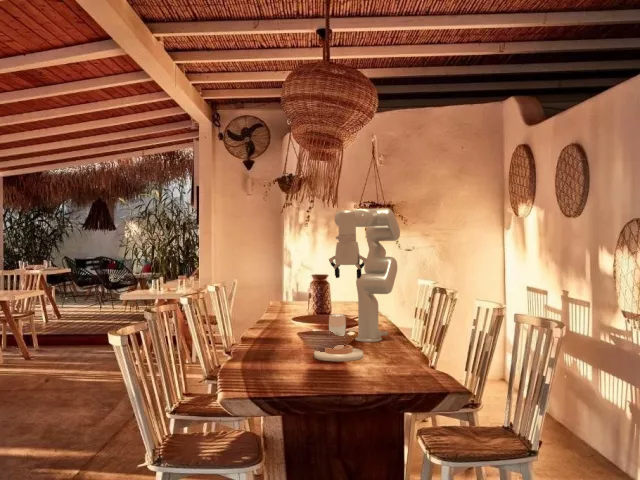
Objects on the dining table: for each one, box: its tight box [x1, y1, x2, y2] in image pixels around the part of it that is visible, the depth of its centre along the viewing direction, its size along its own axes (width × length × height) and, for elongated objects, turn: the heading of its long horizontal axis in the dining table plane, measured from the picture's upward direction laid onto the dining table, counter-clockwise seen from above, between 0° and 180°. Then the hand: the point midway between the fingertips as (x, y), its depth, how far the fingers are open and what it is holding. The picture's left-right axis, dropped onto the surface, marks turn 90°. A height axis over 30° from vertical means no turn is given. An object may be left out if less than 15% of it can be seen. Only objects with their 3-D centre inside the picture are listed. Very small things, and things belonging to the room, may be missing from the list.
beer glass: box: [328, 313, 347, 349], centre depth 247 cm, size 7×7×15 cm
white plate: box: [313, 344, 364, 362], centre depth 246 cm, size 20×20×4 cm
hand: (348, 278), depth 263 cm, fingers open, 9 cm apart
